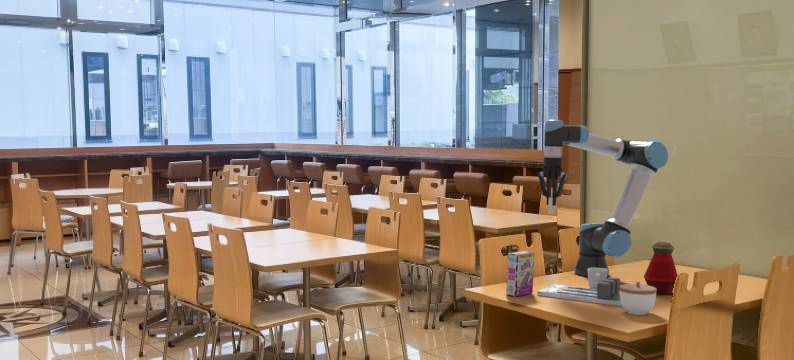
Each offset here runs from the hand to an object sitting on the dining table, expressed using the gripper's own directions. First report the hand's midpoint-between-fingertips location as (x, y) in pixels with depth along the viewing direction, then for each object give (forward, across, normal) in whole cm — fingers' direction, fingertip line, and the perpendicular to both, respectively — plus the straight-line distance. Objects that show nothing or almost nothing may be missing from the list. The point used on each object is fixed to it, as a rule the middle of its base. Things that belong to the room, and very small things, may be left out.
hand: (551, 213), depth 328 cm
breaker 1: (+27, +31, -25) cm, 48 cm away
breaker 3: (+27, +31, -13) cm, 43 cm away
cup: (+30, +21, -1) cm, 36 cm away
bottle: (+30, +44, +8) cm, 54 cm away
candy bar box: (+30, 0, -31) cm, 43 cm away
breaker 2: (+27, +31, -19) cm, 45 cm away
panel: (+29, +23, -19) cm, 42 cm away
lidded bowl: (+30, +46, -35) cm, 65 cm away
